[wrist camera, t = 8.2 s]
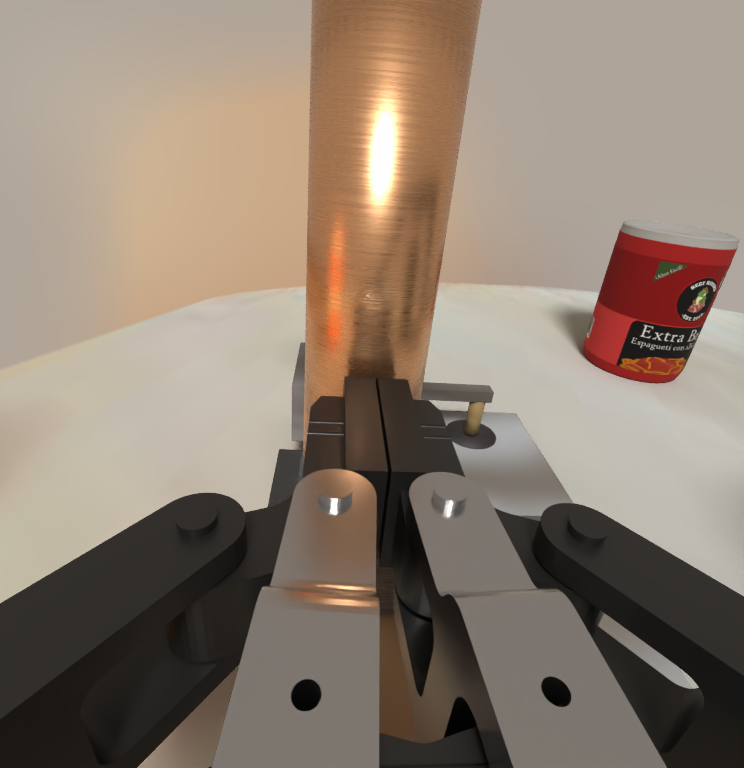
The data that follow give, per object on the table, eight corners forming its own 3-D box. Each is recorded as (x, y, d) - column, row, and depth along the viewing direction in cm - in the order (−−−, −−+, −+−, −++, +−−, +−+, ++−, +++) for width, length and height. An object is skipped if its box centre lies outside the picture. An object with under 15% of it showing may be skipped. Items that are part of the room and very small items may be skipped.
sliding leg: (280, 522, 18) (274, -19, 10) (530, 527, 19) (692, 33, 11) (260, 645, 14) (226, -134, 6) (587, 644, 15) (914, -34, 7)
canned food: (621, 386, 35) (678, 236, 30) (562, 344, 42) (600, 217, 37) (703, 384, 37) (770, 242, 32) (633, 344, 44) (679, 222, 38)
